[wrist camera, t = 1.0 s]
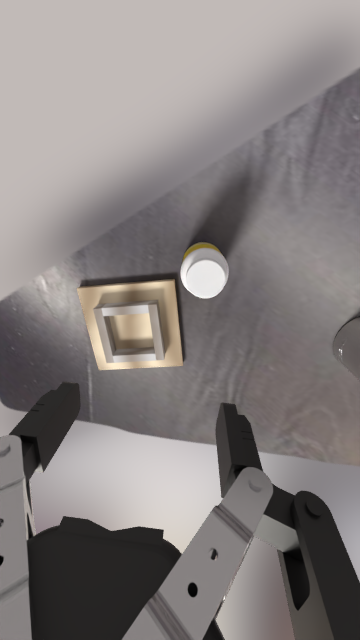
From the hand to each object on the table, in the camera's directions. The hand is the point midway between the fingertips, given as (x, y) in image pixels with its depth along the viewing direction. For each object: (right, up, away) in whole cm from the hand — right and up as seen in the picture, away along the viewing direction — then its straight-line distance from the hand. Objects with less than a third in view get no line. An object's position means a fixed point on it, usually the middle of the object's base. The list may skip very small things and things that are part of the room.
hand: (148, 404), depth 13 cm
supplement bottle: (+5, +13, +20) cm, 24 cm away
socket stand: (-5, +4, +24) cm, 24 cm away
